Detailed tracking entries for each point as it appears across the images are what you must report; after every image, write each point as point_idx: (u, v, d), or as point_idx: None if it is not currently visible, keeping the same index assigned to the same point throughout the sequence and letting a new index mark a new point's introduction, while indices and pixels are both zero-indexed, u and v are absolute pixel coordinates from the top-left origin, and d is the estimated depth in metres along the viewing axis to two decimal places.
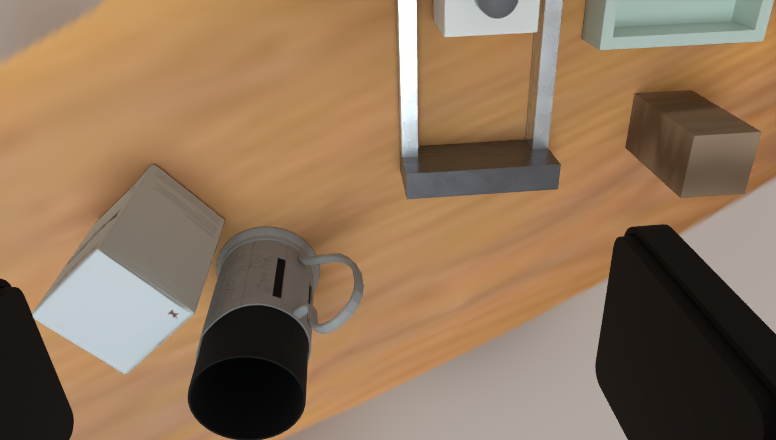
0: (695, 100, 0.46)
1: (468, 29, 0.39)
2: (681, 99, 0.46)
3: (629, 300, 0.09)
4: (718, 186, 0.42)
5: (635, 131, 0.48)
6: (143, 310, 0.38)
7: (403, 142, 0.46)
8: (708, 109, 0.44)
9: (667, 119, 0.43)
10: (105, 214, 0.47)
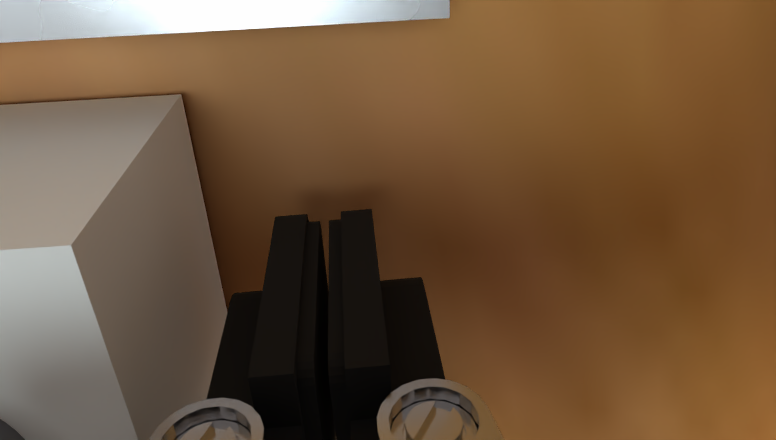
0: None
1: None
2: None
3: None
4: None
5: None
6: None
7: None
8: None
9: None
10: None
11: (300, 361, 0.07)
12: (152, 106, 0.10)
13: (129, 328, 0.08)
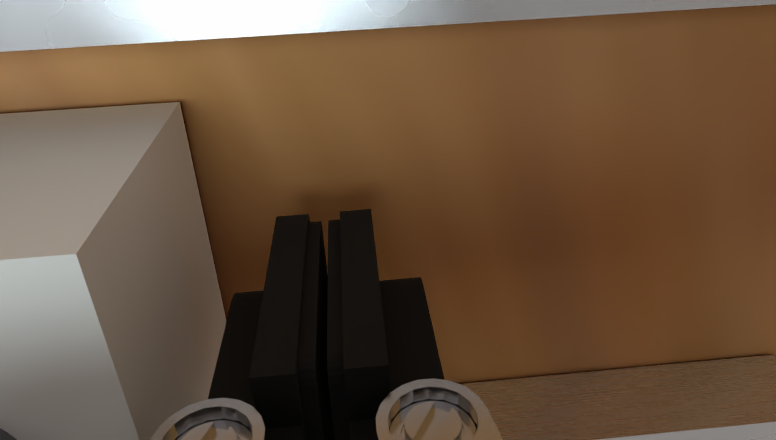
0: None
1: None
2: None
3: None
4: None
5: None
6: None
7: None
8: None
9: None
10: None
11: (302, 361, 0.07)
12: (151, 114, 0.10)
13: (134, 336, 0.08)
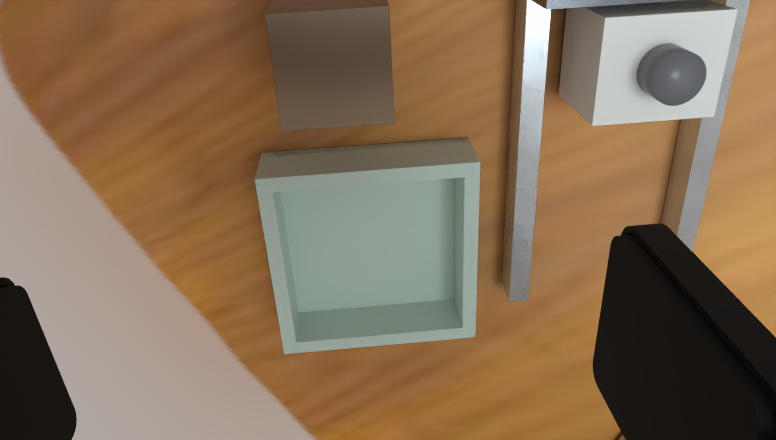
0: None
1: (702, 20, 0.27)
2: None
3: (626, 299, 0.09)
4: (322, 29, 0.23)
5: None
6: None
7: (745, 9, 0.30)
8: None
9: None
10: None
11: None
12: None
13: None
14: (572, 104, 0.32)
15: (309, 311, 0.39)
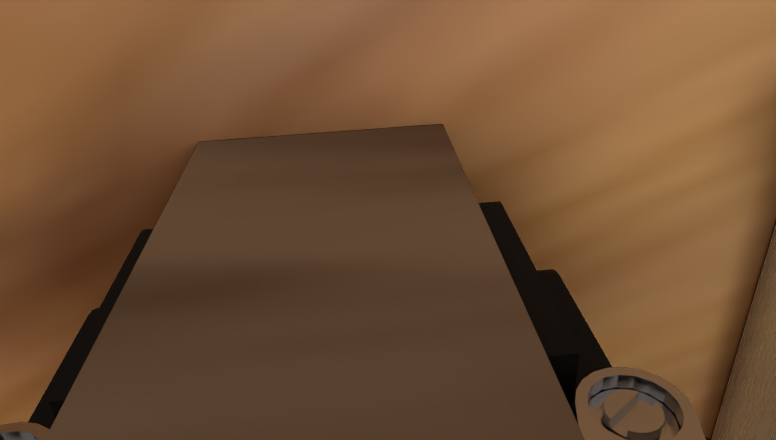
0: None
1: None
2: None
3: None
4: None
5: None
6: None
7: None
8: None
9: None
10: None
11: None
12: None
13: None
14: None
15: None
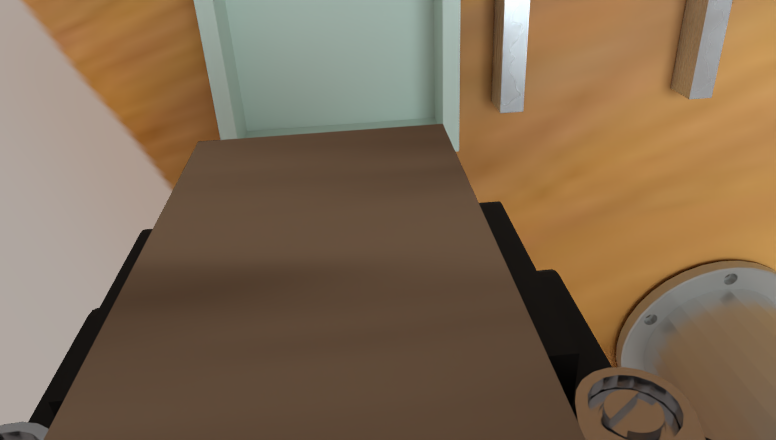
0: None
1: None
2: None
3: None
4: None
5: None
6: None
7: None
8: None
9: None
10: None
11: None
12: None
13: None
14: None
15: (260, 129, 0.32)
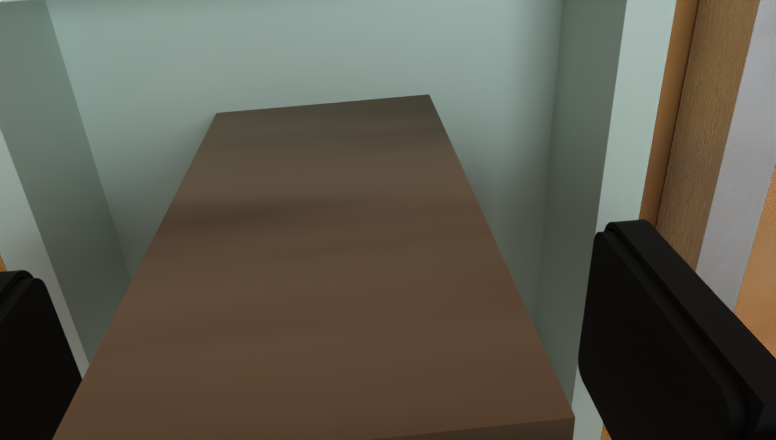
0: None
1: None
2: None
3: (608, 294, 0.09)
4: None
5: None
6: None
7: None
8: None
9: None
10: None
11: None
12: None
13: None
14: None
15: None
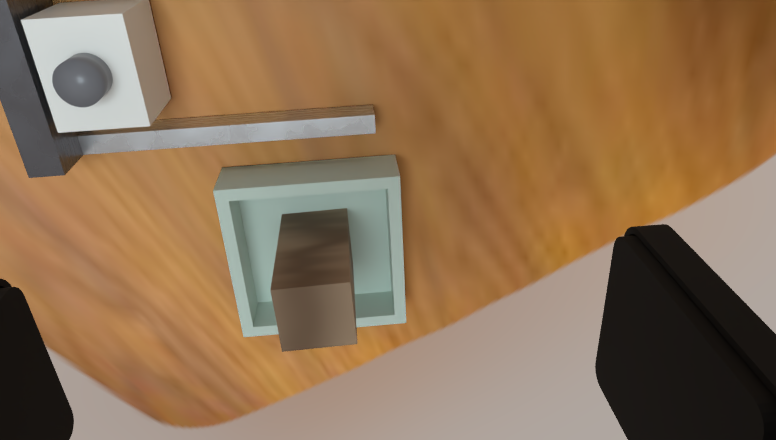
0: None
1: (38, 50, 0.31)
2: (351, 256, 0.42)
3: (629, 300, 0.09)
4: (288, 324, 0.36)
5: (307, 219, 0.41)
6: None
7: None
8: (353, 285, 0.40)
9: (346, 249, 0.38)
10: None
11: None
12: None
13: (134, 43, 0.32)
14: None
15: (390, 283, 0.46)
